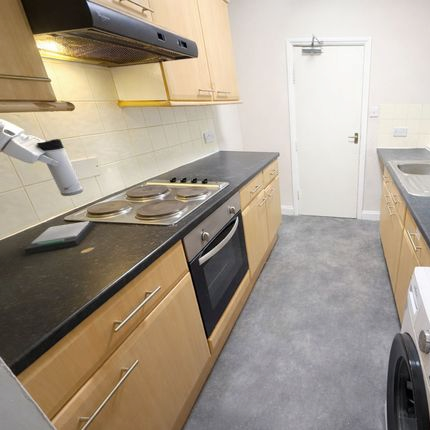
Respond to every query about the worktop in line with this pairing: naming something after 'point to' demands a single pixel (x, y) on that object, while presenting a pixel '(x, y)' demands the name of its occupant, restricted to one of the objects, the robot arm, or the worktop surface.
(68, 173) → the travel mug
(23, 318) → the worktop surface
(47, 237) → the kitchen scale
